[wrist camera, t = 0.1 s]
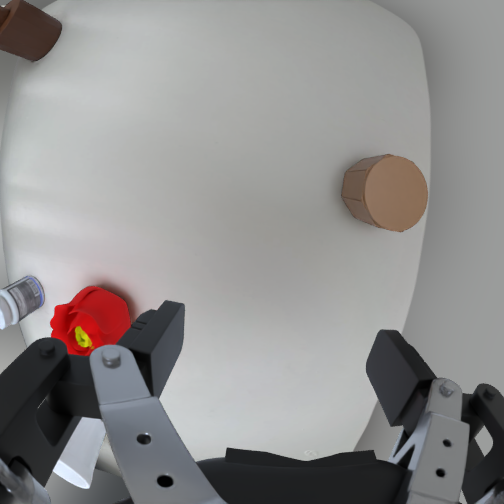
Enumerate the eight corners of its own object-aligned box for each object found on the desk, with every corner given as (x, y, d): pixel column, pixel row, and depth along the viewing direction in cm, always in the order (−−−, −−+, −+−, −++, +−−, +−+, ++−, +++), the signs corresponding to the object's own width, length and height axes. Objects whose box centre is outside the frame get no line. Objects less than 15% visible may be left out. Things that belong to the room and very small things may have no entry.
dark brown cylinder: (38, 28, 19) (-19, 2, 6) (68, 16, 19) (9, -20, 6) (23, 65, 21) (-41, 47, 7) (52, 54, 21) (-18, 26, 7)
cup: (127, 437, 35) (101, 492, 22) (95, 439, 37) (69, 485, 24) (88, 396, 33) (50, 450, 20) (60, 402, 35) (26, 447, 22)
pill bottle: (28, 303, 30) (-9, 327, 21) (22, 273, 28) (-18, 293, 20) (48, 309, 29) (10, 336, 21) (42, 277, 28) (0, 300, 20)
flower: (108, 344, 30) (77, 381, 22) (75, 292, 28) (35, 320, 21) (153, 325, 29) (123, 366, 21) (116, 266, 27) (74, 293, 20)
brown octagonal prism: (347, 154, 24) (370, 147, 18) (400, 168, 23) (432, 167, 18) (337, 214, 25) (358, 223, 19) (390, 225, 25) (420, 237, 19)
